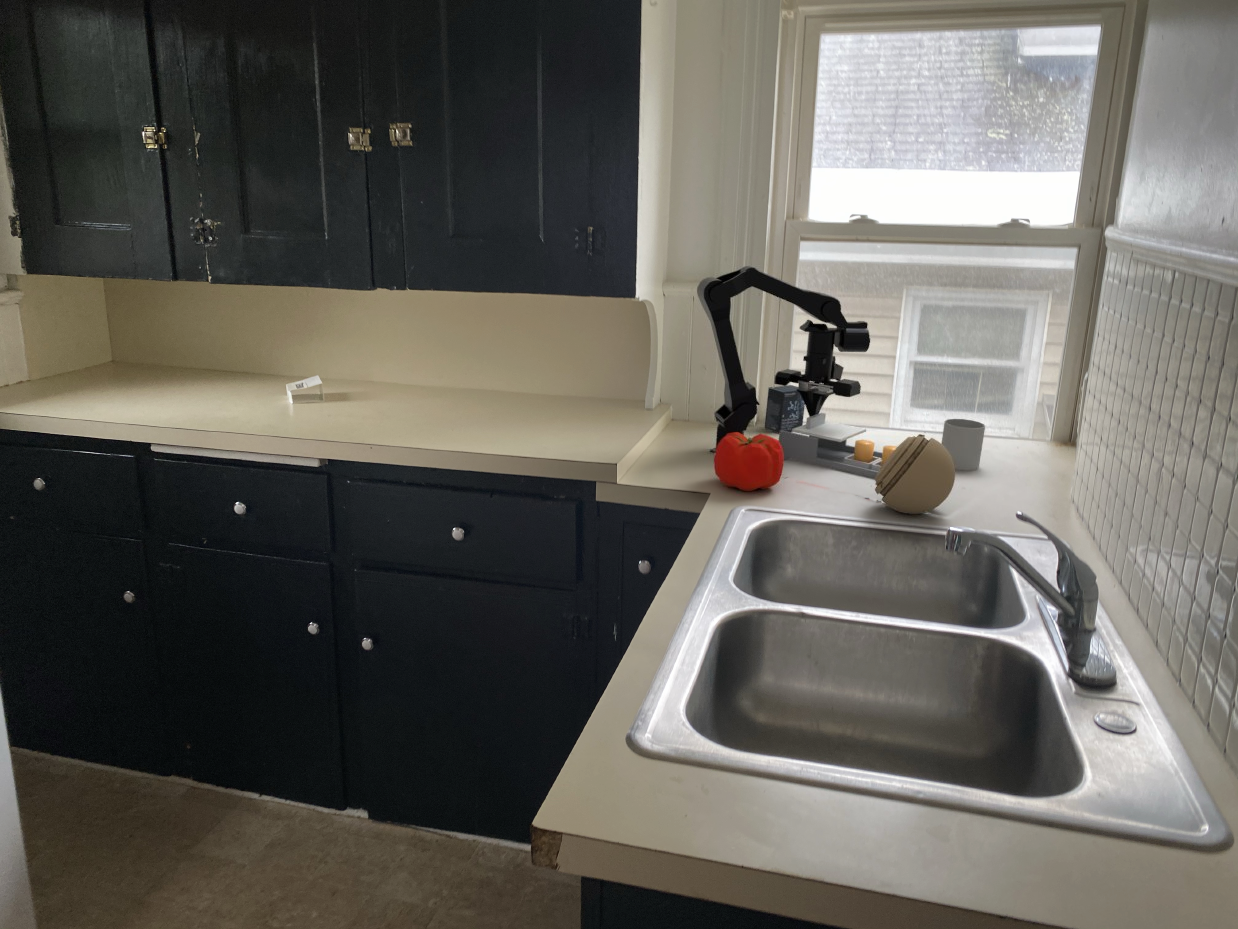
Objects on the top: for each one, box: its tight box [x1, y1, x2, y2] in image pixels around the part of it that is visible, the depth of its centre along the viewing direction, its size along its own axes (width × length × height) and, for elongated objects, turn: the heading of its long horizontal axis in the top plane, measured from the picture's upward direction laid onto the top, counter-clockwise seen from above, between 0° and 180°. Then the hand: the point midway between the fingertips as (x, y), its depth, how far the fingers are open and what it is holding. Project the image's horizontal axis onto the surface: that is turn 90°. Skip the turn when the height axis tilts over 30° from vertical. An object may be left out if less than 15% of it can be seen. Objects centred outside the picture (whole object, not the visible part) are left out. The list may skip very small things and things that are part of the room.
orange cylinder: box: [881, 445, 898, 466], centre depth 204 cm, size 4×4×5 cm
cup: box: [940, 418, 986, 471], centre depth 210 cm, size 8×8×10 cm
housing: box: [778, 430, 883, 479], centre depth 210 cm, size 15×26×6 cm, turn 51°
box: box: [764, 384, 806, 434], centre depth 236 cm, size 8×6×11 cm
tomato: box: [713, 432, 785, 492], centre depth 191 cm, size 14×13×10 cm
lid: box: [791, 412, 867, 442], centre depth 211 cm, size 13×12×3 cm
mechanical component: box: [874, 433, 956, 515], centre depth 179 cm, size 15×15×15 cm
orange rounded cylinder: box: [853, 439, 875, 463], centre depth 208 cm, size 4×4×5 cm
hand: (813, 420), depth 216 cm, fingers closed
